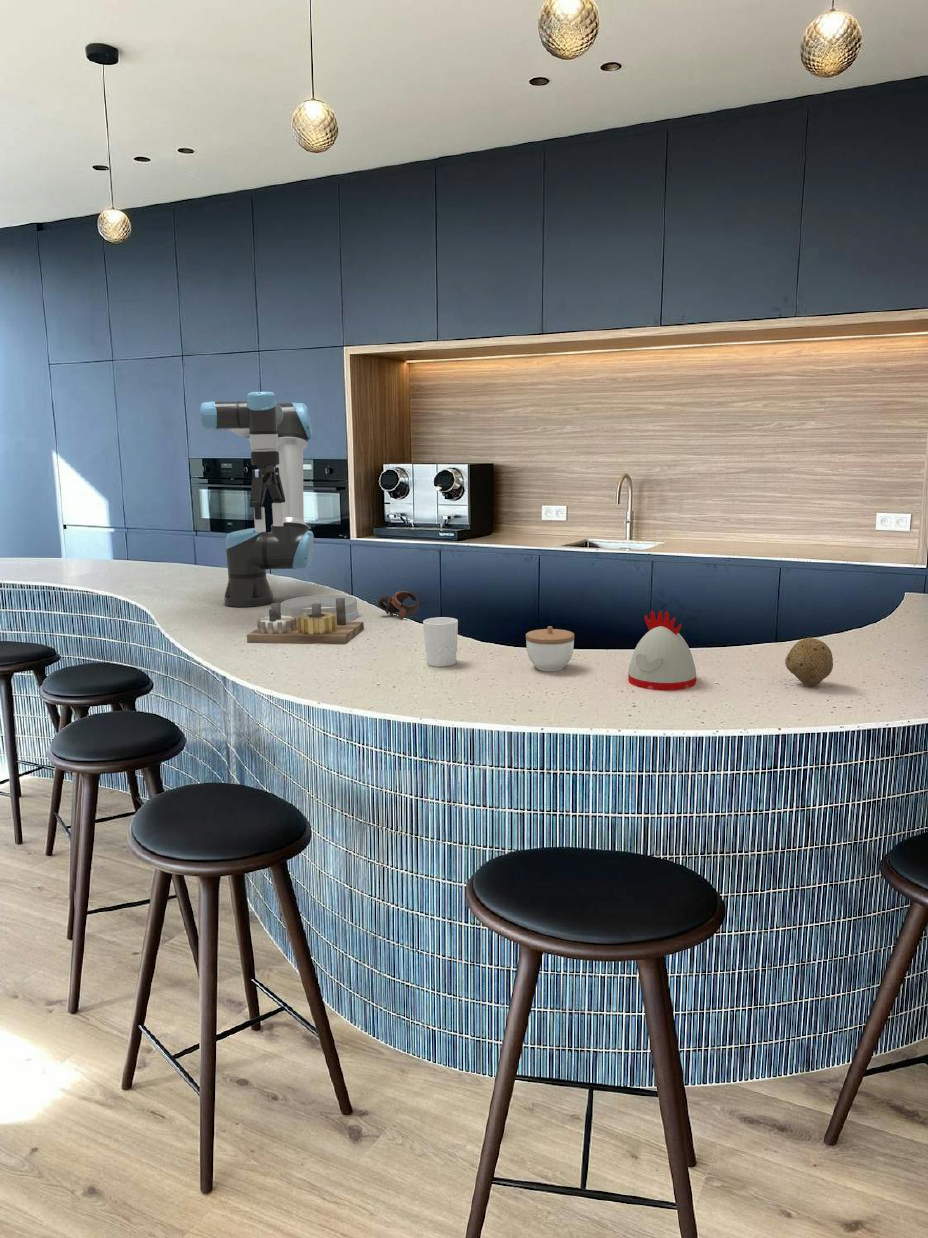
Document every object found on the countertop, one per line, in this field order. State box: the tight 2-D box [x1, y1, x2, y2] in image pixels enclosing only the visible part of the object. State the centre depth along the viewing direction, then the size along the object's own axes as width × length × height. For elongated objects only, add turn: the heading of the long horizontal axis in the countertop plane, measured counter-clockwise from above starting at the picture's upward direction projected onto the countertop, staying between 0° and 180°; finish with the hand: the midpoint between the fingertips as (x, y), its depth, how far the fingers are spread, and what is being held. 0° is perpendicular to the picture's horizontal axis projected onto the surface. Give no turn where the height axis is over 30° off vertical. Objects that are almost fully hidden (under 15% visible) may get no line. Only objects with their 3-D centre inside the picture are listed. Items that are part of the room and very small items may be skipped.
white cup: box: [422, 616, 459, 668], centre depth 210 cm, size 8×8×10 cm
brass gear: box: [297, 612, 337, 635], centre depth 239 cm, size 10×10×4 cm
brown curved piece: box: [377, 590, 420, 620], centre depth 264 cm, size 12×10×8 cm
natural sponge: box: [784, 637, 834, 688], centre depth 186 cm, size 9×9×10 cm
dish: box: [280, 594, 359, 621], centre depth 265 cm, size 22×22×5 cm
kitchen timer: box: [627, 610, 697, 691], centre depth 191 cm, size 14×14×15 cm
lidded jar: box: [525, 625, 575, 672], centre depth 204 cm, size 11×11×9 cm
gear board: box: [246, 598, 365, 645], centre depth 242 cm, size 18×26×9 cm
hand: (269, 529), depth 253 cm, fingers open, 13 cm apart
